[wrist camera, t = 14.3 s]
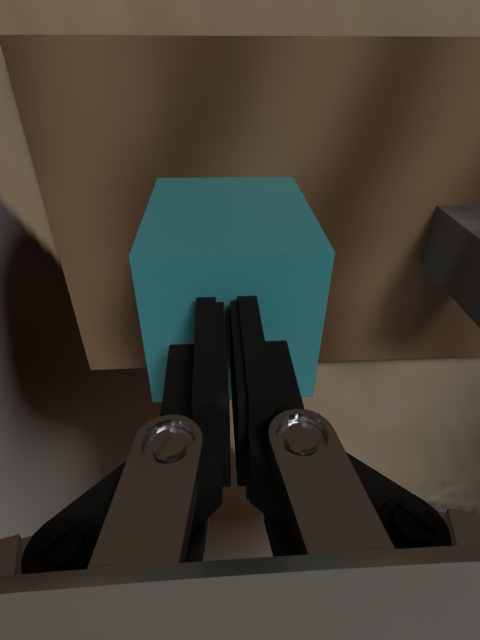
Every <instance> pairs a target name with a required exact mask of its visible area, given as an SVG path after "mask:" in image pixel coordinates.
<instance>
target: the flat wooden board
mask: <svg viewBox="0 0 480 640" xmlns="http://www.w3.org/2000/svg"><path fill="white" fill-rule="evenodd" d="M0 44H1V48H2V52H3V55H4V59H5V62H6V66H7V70H8V73H9V77H10V81H11V84H12V88H13V91H14V95H15V99H16V102H17V106H18V109H19V113H20V117H21V120H22V124H23V128H24V131H25V135H26V138H27V142H28V146H29V149H30V153H31V156H32V160H33V164H34V167H35V171H36V174H37V178H38V182H39V185H40V189H41V193H42V196H43V200H44V203H45V207H46V211H47V214H48V218H49V221H50V225H51V229H52V232H53V236H54V240H55V243H56V247H57V250H58V254H59V258H60V261H61V265H62V268H63V272H64V276H65V279H66V283H67V287H68V290H69V294H70V297H71V301H72V304H73V308H74V312H75V315H76V319H77V323H78V326H79V330H80V333H81V337H82V341H83V344H84V348H85V352H86V355H87V359H88V362H89V366H90V369H91V370H104V369H132V368H147V364H146V358H145V351H144V345H143V339H142V333H141V327H140V321H139V315H138V309H137V302H136V296H135V290H134V284H133V278H132V272H131V266H130V260H129V254H130V251H131V249H132V246H133V243H134V240H135V238H136V235H137V232H138V230H139V227H140V224H141V221H142V219H143V216H144V213H145V210H146V208H147V205H148V202H149V199H150V197H151V194H152V191H153V188H154V186H155V183H156V180H157V178H209V177H293V178H294V179H295V181H296V183H297V185H298V187H299V188H300V190H301V192H302V194H303V196H304V197H305V199H306V201H307V203H308V205H309V206H310V208H311V210H312V212H313V213H314V215H315V217H316V219H317V221H318V222H319V224H320V226H321V228H322V230H323V231H324V233H325V235H326V237H327V239H328V240H329V242H330V244H331V246H332V247H333V249H334V251H335V256H334V262H333V269H332V275H331V281H330V288H329V294H328V301H327V307H326V314H325V320H324V326H323V333H322V339H321V346H320V352H319V358H318V362H331V361H360V360H388V359H416V358H445V357H473V356H480V37H338V36H95V35H0Z"/></svg>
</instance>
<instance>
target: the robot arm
mask: <svg viewBox="0 0 480 640" xmlns="http://www.w3.org/2000/svg"><path fill="white" fill-rule="evenodd" d="M230 370H231V393H232V408H233V424H234V439H235V455H236V469H237V484H238V486H246V494H247V499H249V502H250V503H251V504H252V505H254V506H255V507H256V508H257V509H259V510H260V511H261V512H262V513H263V518H264V524H265V528H266V531H267V535H268V539H269V543H270V546H271V550H272V554H273V557H262V558H246V559H232V560H216V561H203V559H204V552H205V546H206V539H207V533H208V526H209V519H208V518H209V517H210V516H211V515H212V514H213V513H214V512H215V511H216V510H217V509H218V508H219V507H220V506H221V504H222V487H231V474H230V410H229V387H228V369H227V352H226V335H225V317H224V302H216V297H197V298H196V316H195V339H194V344H172V345H170V346H169V351H168V359H167V367H166V375H165V383H164V391H163V399H162V408H161V415H160V417H157V418H154V419H153V420H151V421H149V422H147V423H146V424H145V425H144V426H143V427H142V428H141V429H140V430H139V432H138V433H137V435H136V437H135V439H134V442H133V445H132V447H131V450H130V453H129V455H128V458H127V461H126V462H124V463H123V464H122V465H120V466H119V467H118V468H117V469H115V470H114V471H113V472H111V473H110V474H109V475H107V476H106V477H105V478H103V479H102V480H101V481H100V482H98V483H97V484H96V485H94V486H93V487H92V488H90V489H89V490H88V491H87V492H85V493H84V494H83V495H81V496H80V497H79V498H78V499H76V500H75V501H74V502H72V503H71V504H70V505H68V506H67V507H66V508H65V509H63V510H62V511H61V512H59V513H58V514H57V515H56V516H54V517H53V518H52V519H50V520H49V521H48V522H46V523H45V524H44V525H43V526H42V527H41V528H40V529H39V530H38V531H37V532H36V533H35V534H34V535H33V536H29V537H25V538H22V539H21V537H20V535H19V534H18V535H14V536H11V537H7V538H3V539H0V640H480V513H474V512H468V511H462V510H456V509H450V508H448V510H447V511H446V513H444V512H438V511H436V510H435V509H434V508H433V507H432V506H430V505H429V504H428V503H426V502H425V501H424V500H422V499H420V498H419V497H417V496H416V495H414V494H412V493H411V492H409V491H408V490H406V489H404V488H403V487H401V486H400V485H398V484H396V483H395V482H393V481H391V480H390V479H388V478H387V477H385V476H383V475H382V474H380V473H379V472H377V471H375V470H374V469H372V468H371V467H369V466H367V465H366V464H364V463H363V462H361V461H359V460H358V459H356V458H355V457H353V456H351V455H350V454H348V453H347V452H345V450H344V448H343V446H342V444H341V442H340V440H339V438H338V436H337V434H336V432H335V430H334V428H333V427H332V425H331V424H330V423H329V421H328V420H327V419H325V418H324V417H323V416H321V415H320V414H318V413H315V412H313V411H311V410H305V409H304V406H303V402H302V398H301V394H300V391H299V387H298V383H297V379H296V375H295V371H294V367H293V363H292V359H291V355H290V351H289V347H288V344H287V341H286V340H281V341H265V338H264V333H263V327H262V322H261V316H260V311H259V306H258V300H257V296H237V301H232V302H230Z"/></svg>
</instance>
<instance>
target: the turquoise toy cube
mask: <svg viewBox="0 0 480 640" xmlns="http://www.w3.org/2000/svg"><path fill="white" fill-rule="evenodd" d="M334 256H335V251H334V249H333V247H332V246H331V244H330V242H329V240H328V239H327V237H326V235H325V233H324V231H323V230H322V228H321V226H320V224H319V222H318V221H317V219H316V217H315V215H314V213H313V212H312V210H311V208H310V206H309V205H308V203H307V201H306V199H305V197H304V196H303V194H302V192H301V190H300V188H299V187H298V185H297V183H296V181H295V179H294V178H293V177H209V178H157V180H156V183H155V186H154V188H153V191H152V194H151V197H150V199H149V202H148V205H147V208H146V210H145V213H144V216H143V219H142V221H141V224H140V227H139V230H138V232H137V235H136V238H135V240H134V243H133V246H132V249H131V251H130V254H129V260H130V266H131V272H132V278H133V284H134V290H135V296H136V302H137V309H138V315H139V321H140V327H141V333H142V339H143V345H144V351H145V358H146V364H147V370H148V376H149V382H150V388H151V393H152V400H153V402H162V399H163V391H164V383H165V375H166V367H167V359H168V351H169V346H170V345H172V344H194V339H195V316H196V298H197V297H216V302H224V317H225V335H226V352H227V369H228V387H229V400H231V399H232V393H231V370H230V302H232V301H237V296H257V300H258V306H259V311H260V316H261V322H262V327H263V333H264V338H265V341H281V340H286V341H287V344H288V347H289V351H290V355H291V359H292V363H293V367H294V371H295V375H296V379H297V383H298V387H299V391H300V394H301V397H313V391H314V384H315V378H316V371H317V365H318V358H319V352H320V346H321V339H322V333H323V326H324V320H325V314H326V307H327V301H328V294H329V288H330V281H331V275H332V269H333V262H334Z"/></svg>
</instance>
